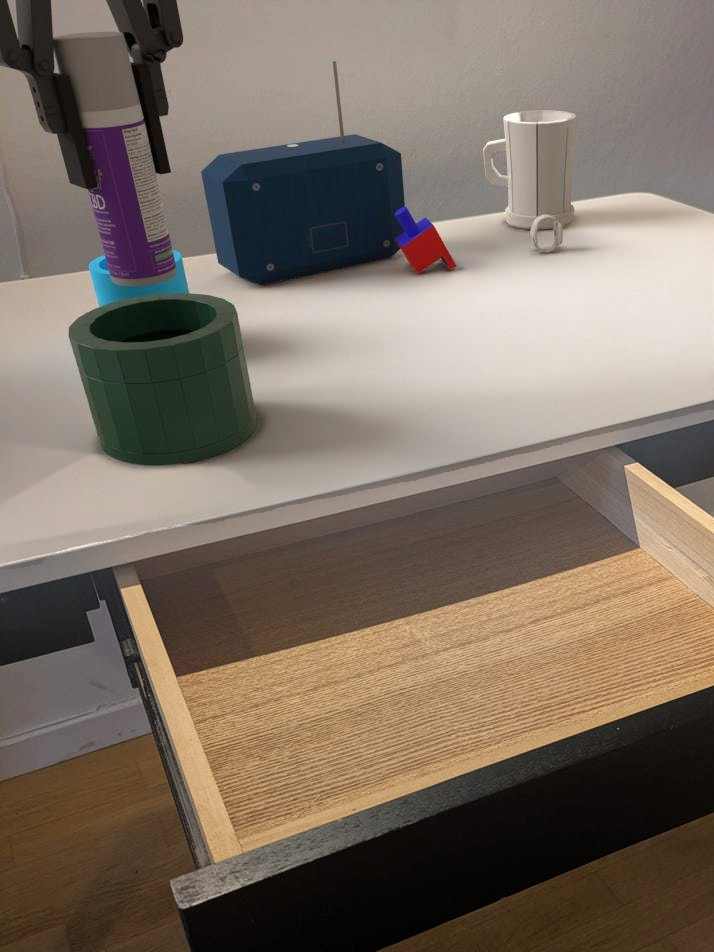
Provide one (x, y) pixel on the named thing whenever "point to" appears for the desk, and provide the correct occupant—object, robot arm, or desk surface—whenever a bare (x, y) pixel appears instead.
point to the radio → (305, 206)
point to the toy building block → (421, 242)
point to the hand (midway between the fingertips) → (120, 177)
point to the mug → (113, 292)
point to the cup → (535, 166)
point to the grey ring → (557, 233)
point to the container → (118, 158)
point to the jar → (165, 377)
